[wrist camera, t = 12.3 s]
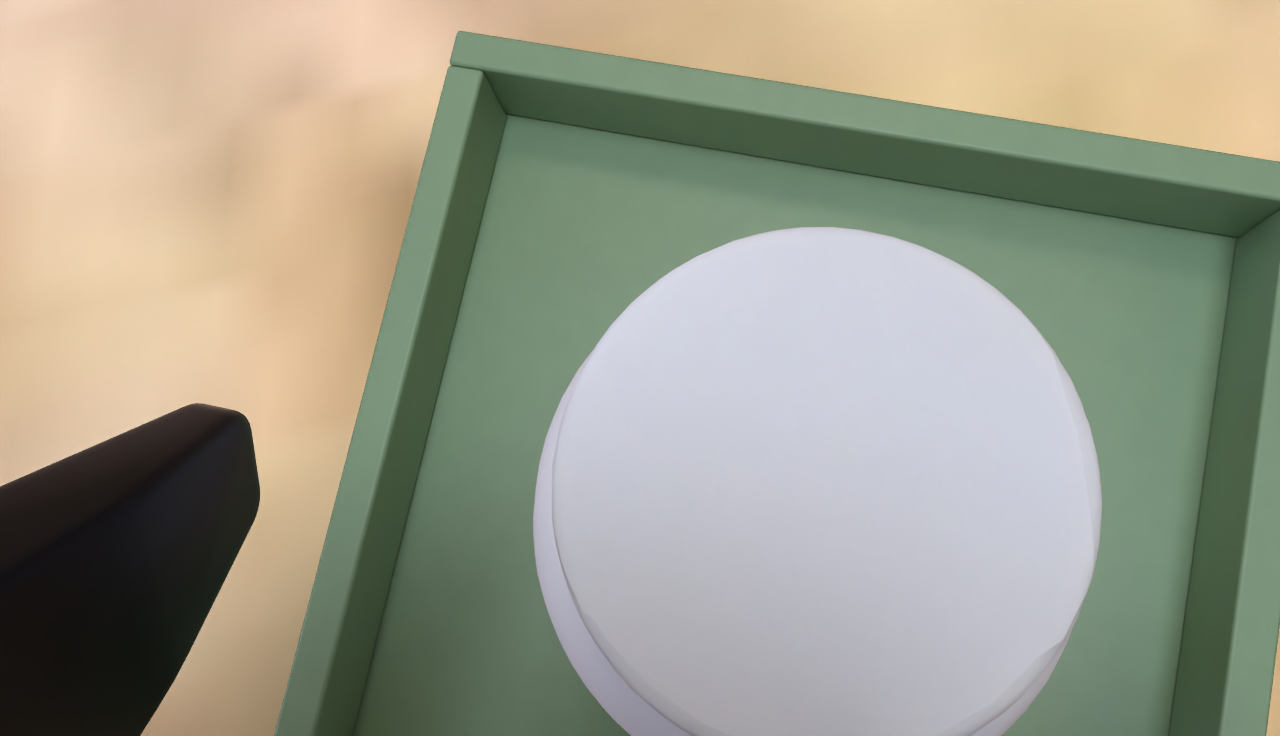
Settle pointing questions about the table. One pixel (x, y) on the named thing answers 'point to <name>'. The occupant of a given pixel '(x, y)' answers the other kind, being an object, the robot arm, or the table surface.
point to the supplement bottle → (817, 498)
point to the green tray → (757, 203)
